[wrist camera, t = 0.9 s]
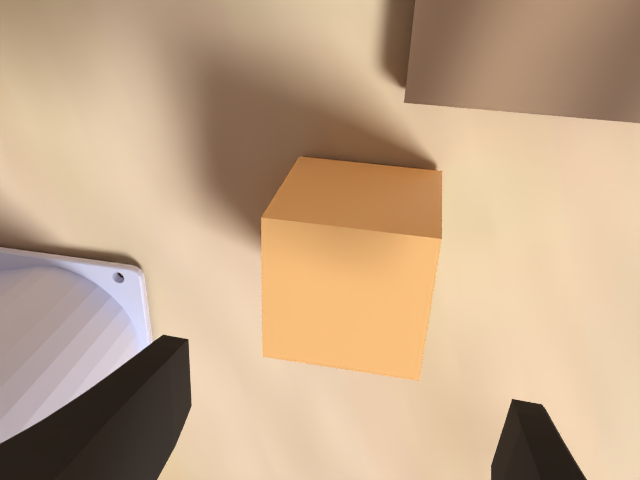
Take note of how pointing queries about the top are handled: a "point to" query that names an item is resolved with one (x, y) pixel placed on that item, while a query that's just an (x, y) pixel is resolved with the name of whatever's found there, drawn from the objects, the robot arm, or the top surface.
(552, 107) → the brown rectangular slab
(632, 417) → the top surface
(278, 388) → the top surface
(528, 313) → the top surface
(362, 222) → the orange cube
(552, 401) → the top surface
